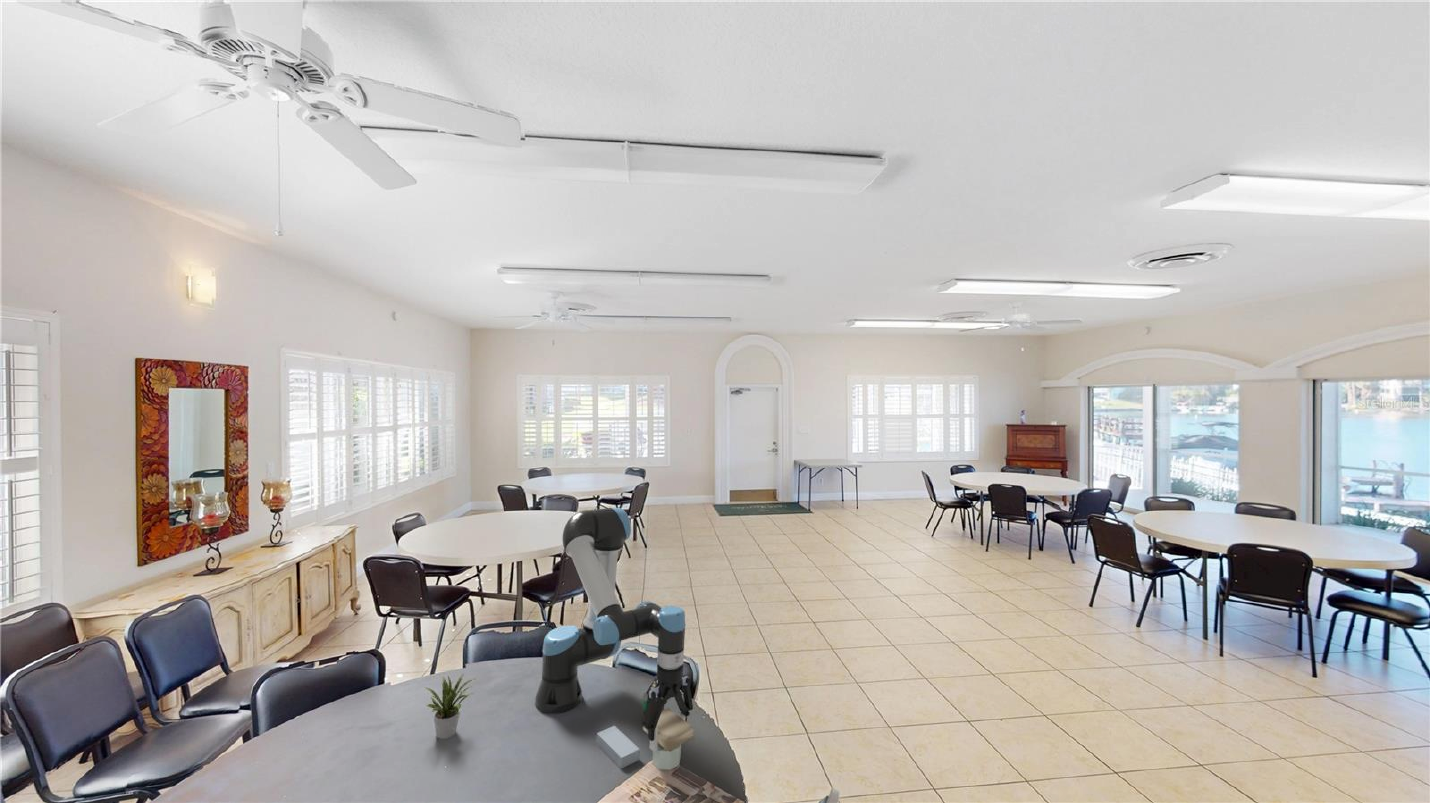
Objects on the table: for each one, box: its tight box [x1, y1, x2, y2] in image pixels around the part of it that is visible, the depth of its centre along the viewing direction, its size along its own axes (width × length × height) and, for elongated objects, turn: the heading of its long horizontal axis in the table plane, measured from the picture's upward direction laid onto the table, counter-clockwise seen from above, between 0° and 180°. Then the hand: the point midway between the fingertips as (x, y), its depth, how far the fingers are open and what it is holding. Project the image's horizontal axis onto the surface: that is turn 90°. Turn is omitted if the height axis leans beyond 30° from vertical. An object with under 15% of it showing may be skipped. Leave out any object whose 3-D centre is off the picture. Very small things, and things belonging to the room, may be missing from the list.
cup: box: [652, 743, 682, 771], centre depth 147 cm, size 8×8×5 cm
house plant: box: [425, 673, 476, 740], centre depth 156 cm, size 14×14×16 cm
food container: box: [642, 675, 665, 718], centre depth 168 cm, size 12×6×10 cm, turn 168°
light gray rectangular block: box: [596, 725, 641, 770], centre depth 150 cm, size 14×6×3 cm, turn 41°
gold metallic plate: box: [642, 707, 695, 751], centre depth 147 cm, size 12×9×3 cm
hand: (667, 743), depth 147 cm, fingers closed on gold metallic plate, 9 cm apart
